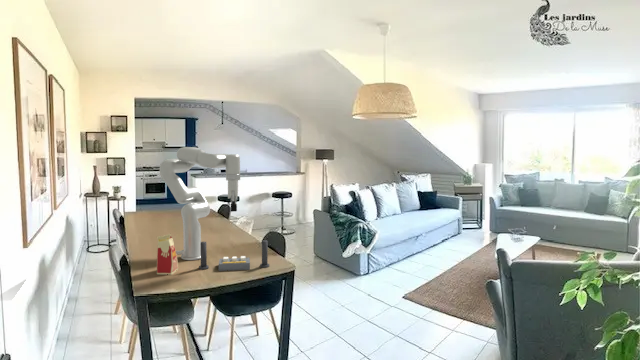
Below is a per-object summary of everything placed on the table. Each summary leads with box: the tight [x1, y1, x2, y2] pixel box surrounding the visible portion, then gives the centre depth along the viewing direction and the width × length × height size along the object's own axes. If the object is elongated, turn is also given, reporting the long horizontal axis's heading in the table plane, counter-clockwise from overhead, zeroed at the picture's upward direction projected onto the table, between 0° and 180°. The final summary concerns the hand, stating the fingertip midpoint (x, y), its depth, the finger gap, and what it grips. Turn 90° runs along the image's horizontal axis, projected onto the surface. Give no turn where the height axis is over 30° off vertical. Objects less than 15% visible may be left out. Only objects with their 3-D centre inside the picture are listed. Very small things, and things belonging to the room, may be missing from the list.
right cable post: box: [259, 239, 270, 269], centre depth 215 cm, size 5×5×14 cm
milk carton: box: [156, 233, 179, 276], centre depth 203 cm, size 9×9×20 cm
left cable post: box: [198, 241, 209, 271], centre depth 210 cm, size 5×5×14 cm
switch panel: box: [218, 255, 251, 272], centre depth 213 cm, size 16×10×6 cm, turn 101°
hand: (233, 211), depth 215 cm, fingers closed
